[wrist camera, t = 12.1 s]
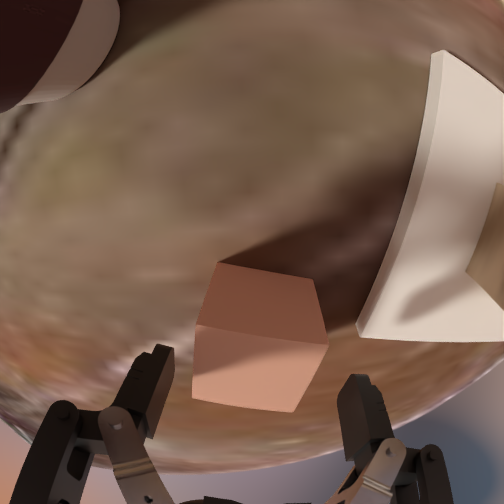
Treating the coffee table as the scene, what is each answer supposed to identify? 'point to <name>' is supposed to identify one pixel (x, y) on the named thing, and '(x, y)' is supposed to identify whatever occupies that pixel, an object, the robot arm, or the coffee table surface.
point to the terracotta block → (257, 339)
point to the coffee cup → (52, 47)
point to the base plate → (443, 218)
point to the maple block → (491, 251)
